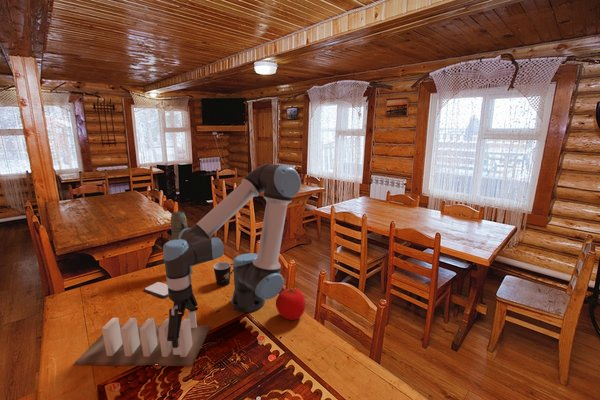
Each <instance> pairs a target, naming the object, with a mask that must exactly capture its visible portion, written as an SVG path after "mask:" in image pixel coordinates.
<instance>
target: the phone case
mask: <svg viewBox="0 0 600 400" xmlns="http://www.w3.org/2000/svg"><path fill="white" fill-rule="evenodd" d="M143 291H144V292H147V293H149V294H151V295H154V296H156V297H158V298H159V297H160V298H162V299H167V298H169V295H168V286H167V283H164V282H160V281H156V282H154V283H151V284H150V285H148V286H146V287H144V288H143Z"/></svg>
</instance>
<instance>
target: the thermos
mask: <svg viewBox="0 0 600 400" xmlns="http://www.w3.org/2000/svg"><path fill="white" fill-rule="evenodd" d="M170 228H171V240H178V237H179V234H180V232H181V231H182V230H184V229H186V228H189V226H188V221H187V216H186V214H185V212H184V211H174V212H173V213H171V217H170ZM190 273H191V275H192V274H193V266H190Z"/></svg>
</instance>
